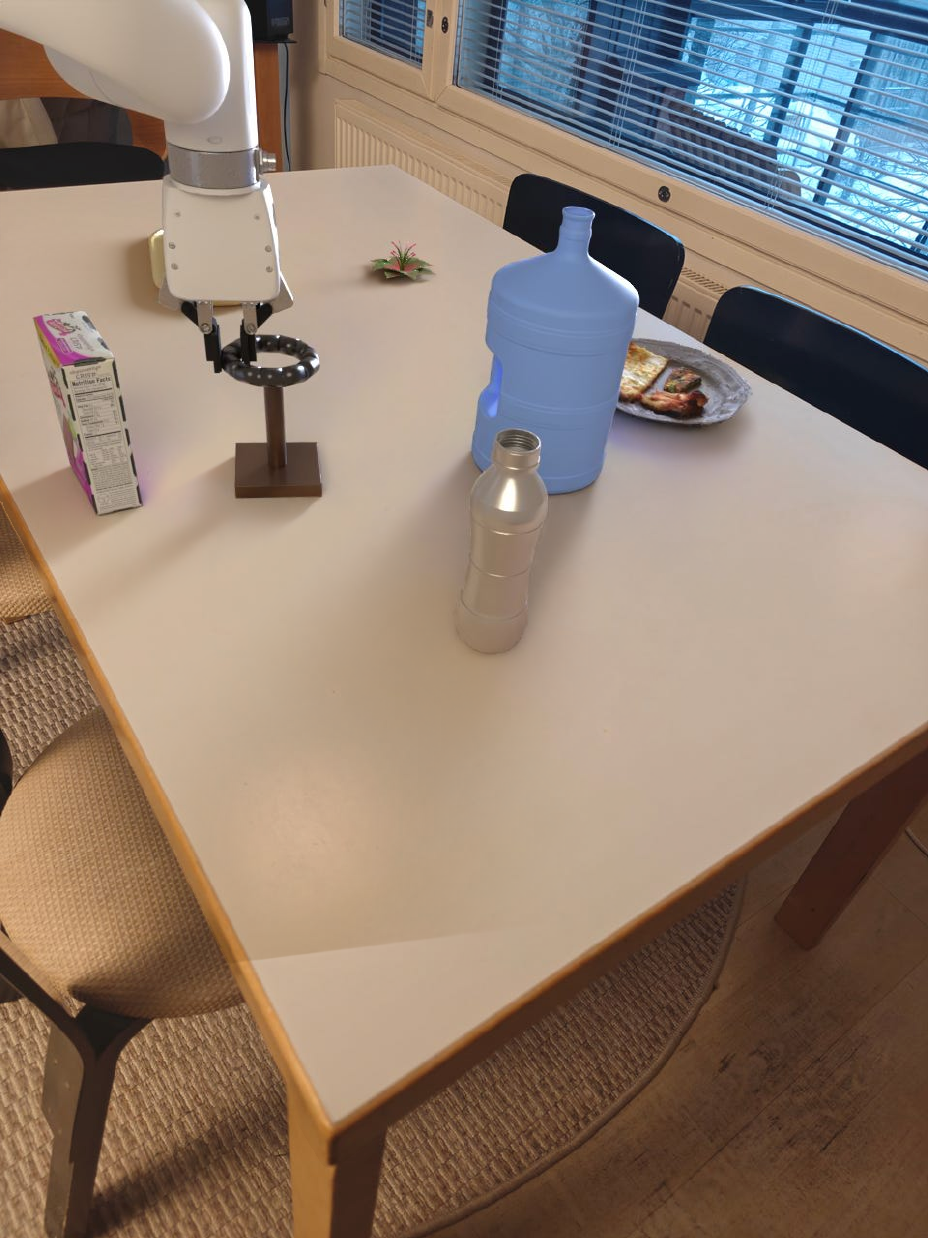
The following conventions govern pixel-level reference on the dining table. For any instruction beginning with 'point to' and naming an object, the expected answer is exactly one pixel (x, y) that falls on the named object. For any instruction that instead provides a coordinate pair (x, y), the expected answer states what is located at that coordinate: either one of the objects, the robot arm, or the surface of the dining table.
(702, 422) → the food plate
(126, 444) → the candy bar box
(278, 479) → the post
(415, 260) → the lily flower
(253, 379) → the ring
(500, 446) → the plastic bottle
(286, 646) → the dining table surface
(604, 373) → the water jug
